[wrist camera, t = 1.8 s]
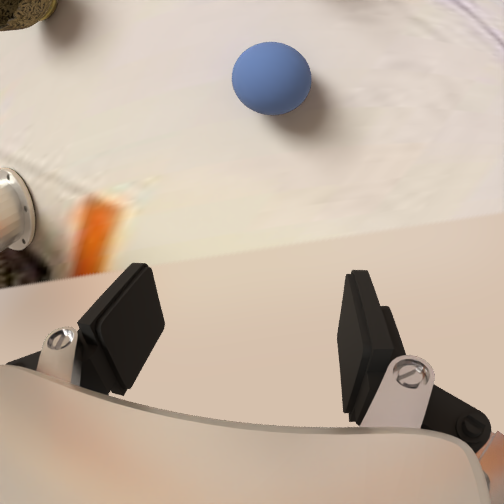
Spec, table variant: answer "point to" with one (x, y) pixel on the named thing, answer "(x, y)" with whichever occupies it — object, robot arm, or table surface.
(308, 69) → the ball
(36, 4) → the cup
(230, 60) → the table surface
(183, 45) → the table surface
